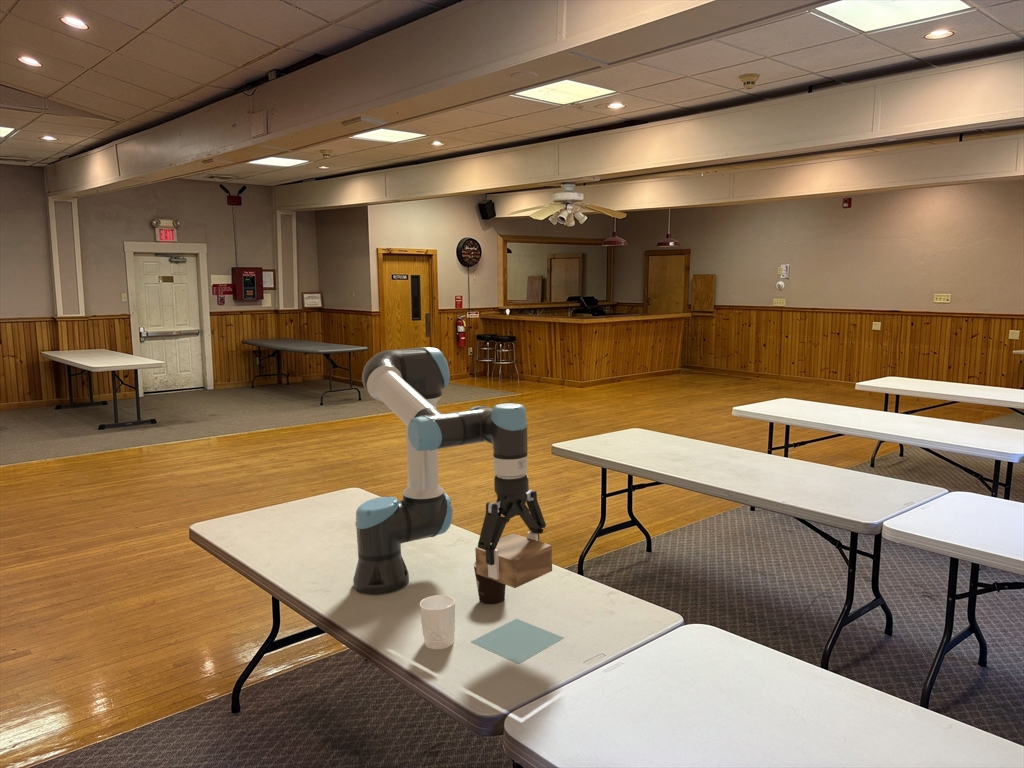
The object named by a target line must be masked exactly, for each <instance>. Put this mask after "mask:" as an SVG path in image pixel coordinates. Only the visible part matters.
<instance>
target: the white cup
mask: <svg viewBox="0 0 1024 768" xmlns="http://www.w3.org/2000/svg"><path fill="white" fill-rule="evenodd" d="M419 610H420V611H419V612H420V620H421V621H420V622H421V628H422V629H421V630H422V637H423V643H424V646H425V647H426V648H428V649H432V650H442V649H447V648H450V647H451V646H452V645H453V644H454V643H455V631H456V630H455V629H456V600H455V599H454V598H453V597H452V596H449V595H446V594H445V595H444V594H437V595H430V596H427V597H425V598H423V599H421V601H420V602H419Z"/></svg>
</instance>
